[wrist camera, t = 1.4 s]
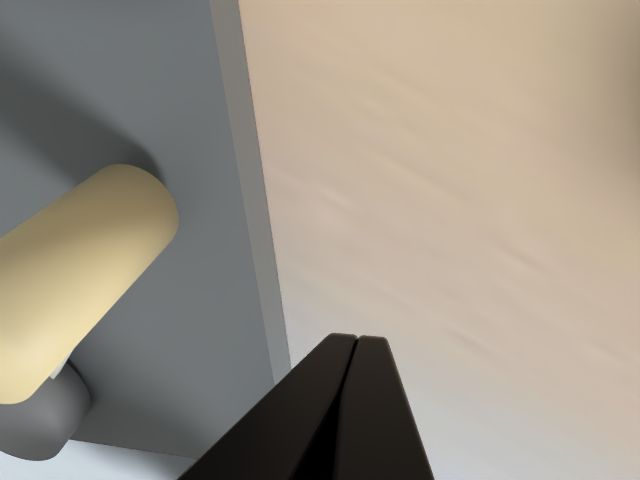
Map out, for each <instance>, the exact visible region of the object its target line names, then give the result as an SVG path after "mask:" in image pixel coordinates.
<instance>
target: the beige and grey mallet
mask: <svg viewBox="0 0 640 480" xmlns="http://www.w3.org/2000/svg"><path fill="white" fill-rule="evenodd" d="M178 225H179V216H178V211H177V207H176V204H175V202H174V200H173V198H172V196H171V194H170V193H169V191H168V190H167V189H166V187H165V186H164V185H163V184H162V183H161V182H160V181H159V180H158V179H157V178H155V177H154V176H153V175H151V174H150V173H148V172H147V171H145V170H143V169H141V168H138V167H135V166H132V165H127V164H114V165H109V166H106V167H104V168H103V169H101V170H99V171H98V172H97V173H95V174H94V175H92V176H91V177H89V178H88V179H86V180H85V181H83V182H82V183H80V184H79V185H78V186H76V187H75V188H73V189H72V190H70V191H69V192H67V193H66V194H64V195H63V196H61V197H60V198H58V199H57V200H56V201H54V202H53V203H51V204H50V205H48V206H47V207H45V208H44V209H42V210H41V211H39V212H38V213H37V214H35V215H34V216H32V217H31V218H29V219H28V220H26V221H25V222H23V223H22V224H20V225H19V226H18V227H16V228H15V229H13V230H12V231H10V232H9V233H7V234H6V235H4V236H3V237H1V238H0V451H2V452H4V453H6V454H9V455H11V456H14V457H17V458H21V459H25V460H32V461H43V460H48V459H51V458H53V457H54V456H56V455H57V454H58V453H59V452H60V450H61V449H62V448H63V446H64V445H65V444H66V442H67V441H68V440H69V438H70V437H71V436H72V434H73V433H74V432H75V430H76V429H77V428H78V426H79V425H80V424H81V422H82V421H83V420H84V418H85V417H86V416H87V414H88V413H89V410H90V407H91V400H90V395H89V392H88V390H87V387H86V385H85V384H84V382H83V380H82V379H81V378H80V376H79V375H78V374H77V373H76V372H75V371H74V370H73V369H72V368H71V367H70V366H69V365H68V364H67V363H66V361H67V359H68V357H69V356H70V354H71V352H72V351H73V349H74V348H75V347H76V346H77V345H78V343H79V342H80V341H81V340H82V339H83V338H84V337H85V336H86V335H87V334H88V332H89V331H90V330H91V329H92V328H93V327H94V326H95V325H96V324H97V323H98V321H99V320H100V319H101V318H102V317H103V316H104V315H105V314H106V313H107V311H108V310H109V309H110V308H111V307H112V306H113V305H114V304H115V303H116V302H117V300H118V299H119V298H120V297H121V296H122V295H123V294H124V293H125V292H126V291H127V289H128V288H129V287H130V286H131V285H132V284H133V283H134V282H135V281H136V280H137V278H138V277H139V276H140V275H141V274H142V273H143V272H144V271H145V270H146V268H147V267H148V266H149V265H150V264H151V263H152V262H153V261H154V260H155V259H156V257H157V256H158V255H159V254H160V253H161V252H162V251H163V250H164V249H165V248H166V246H167V245H168V244H169V243H170V242H171V241H172V240H173V238H174V237H175V235H176V233H177V230H178Z"/></svg>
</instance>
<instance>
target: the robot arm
mask: <svg viewBox="0 0 640 480" xmlns="http://www.w3.org/2000/svg"><path fill="white" fill-rule="evenodd" d="M177 480H435V479H434V476H433V473H432V470H431V467H430V464H429V461H428V458H427V455H426V452H425V449H424V446H423V444H422V441H421V438H420V435H419V432H418V429H417V426H416V423H415V420H414V417H413V414H412V411H411V408H410V405H409V402H408V399H407V396H406V393H405V390H404V387H403V384H402V381H401V378H400V375H399V372H398V370H397V367H396V364H395V361H394V358H393V355H392V352H391V349H390V346H389V343H388V341H387V339H386V338H384V337H378V336H366V335H362V336H360V337H359V338H358V337H357V336H356V335H353V334H342V333H331V334H329V335H328V336H327V337H326V338H325V339H324V340H323V341H321V342H320V343H319V344H318V345H317V346H316V347H315V348H314V349H313V350H312V351H311V352H310V353H309V354H308V355H307V356H306V357H305V358H304V359H303V360H302V361H300V362H299V363H298V364H297V365H296V366H295V367H294V368H293V369H292V370H291V371H290V372H289V373H288V374H287V375H286V376H285V377H284V378H283V379H282V380H281V381H280V382H278V383H277V384H276V385H275V386H274V387H273V388H272V389H271V390H270V391H269V392H268V393H267V394H266V395H265V396H264V397H263V398H262V399H261V400H260V401H259V402H257V403H256V404H255V405H254V406H253V407H252V408H251V409H250V410H249V411H248V412H247V413H246V414H245V415H244V416H243V417H242V418H241V419H240V420H239V421H238V422H236V423H235V424H234V425H233V426H232V427H231V428H230V429H229V430H228V431H227V432H226V433H225V434H224V435H223V436H222V437H221V438H220V439H219V440H218V441H217V442H215V443H214V444H213V445H212V446H211V447H210V448H209V449H208V450H207V451H206V452H205V453H204V454H203V455H202V456H201V457H200V458H199V459H198V460H197V461H196V462H194V463H193V464H192V465H191V466H190V467H189V468H188V469H187V470H186V471H185V472H184V473H183V474H182V475H181V476H180V477H179V478H178V479H177Z"/></svg>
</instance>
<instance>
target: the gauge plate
mask: <svg viewBox="0 0 640 480" xmlns="http://www.w3.org/2000/svg"><path fill="white" fill-rule="evenodd" d="M114 164H127V165H132V166H135V167H138V168H141V169H143V170H145V171H147V172H148V173H150V174H151V175H153V176H154V177H155V178H157V179H158V180H159V181H160V182H161V183H162V184H163V185H164V186H165V187H166V189H167V190H168V191H169V193H170V194H171V196H172V198H173V200H174V202H175V204H176V207H177V211H178V216H179V225H178V230H177V233H176V235H175V237H174V238H173V240H172V241H171V242H170V243H169V244H168V245H167V246H166V248H165V249H164V250H163V251H162V252H161V253H160V254H159V255H158V256H157V257H156V259H155V260H154V261H153V262H152V263H151V264H150V265H149V266H148V267H147V268H146V270H145V271H144V272H143V273H142V274H141V275H140V276H139V277H138V278H137V280H136V281H135V282H134V283H133V284H132V285H131V286H130V287H129V288H128V289H127V291H126V292H125V293H124V294H123V295H122V296H121V297H120V298H119V299H118V300H117V302H116V303H115V304H114V305H113V306H112V307H111V308H110V309H109V310H108V311H107V313H106V314H105V315H104V316H103V317H102V318H101V319H100V320H99V321H98V323H97V324H96V325H95V326H94V327H93V328H92V329H91V330H90V331H89V332H88V334H87V335H86V336H85V337H84V338H83V339H82V340H81V341H80V342H79V343H78V345H77V346H76V347H75V348H74V349H73V351H72V352H71V354H70V356H69V357H68V359H67V361H66V363H67V364H68V365H69V366H70V367H71V368H72V369H73V370H74V371H75V372H76V373H77V374H78V375H79V376H80V378H81V379H82V380H83V382H84V384H85V385H86V387H87V390H88V392H89V395H90V400H91V407H90V410H89V413H88V414H87V416H86V417H85V418H84V420H83V421H82V422H81V424H80V425H79V426H78V428H77V429H76V430H75V432H74V433H73V434H72V436H71V437H70V438H69V439H70V440H77V441H84V442H90V443H97V444H104V445H110V446H117V447H123V448H130V449H137V450H143V451H150V452H157V453H163V454H170V455H177V456H183V457H190V458H197V459H199V458H200V457H201V456H202V455H203V454H204V453H205V452H206V451H207V450H208V449H209V448H210V447H211V446H212V445H213V444H214V443H215V442H217V441H218V440H219V439H220V438H221V437H222V436H223V435H224V434H225V433H226V432H227V431H228V430H229V429H230V428H231V427H232V426H233V425H234V424H235V423H236V422H238V421H239V420H240V419H241V418H242V417H243V416H244V415H245V414H246V413H247V412H248V411H249V410H250V409H251V408H252V407H253V406H254V405H255V404H256V403H257V402H259V401H260V400H261V399H262V398H263V397H264V396H265V395H266V394H267V393H268V392H269V391H270V390H271V389H272V388H273V387H274V386H275V385H276V384H277V383H278V382H280V381H281V380H282V379H283V378H284V377H285V376H286V375H287V374H288V373H289V372H290V371H291V363H290V356H289V349H288V343H287V336H286V329H285V322H284V315H283V308H282V301H281V294H280V287H279V280H278V274H277V267H276V260H275V253H274V246H273V239H272V232H271V225H270V218H269V212H268V205H267V198H266V191H265V184H264V177H263V170H262V163H261V156H260V149H259V143H258V136H257V129H256V122H255V115H254V108H253V101H252V94H251V87H250V80H249V74H248V67H247V60H246V53H245V46H244V39H243V32H242V25H241V18H240V11H239V5H238V0H0V238H1V237H3V236H4V235H6V234H7V233H9V232H10V231H12V230H13V229H15V228H16V227H18V226H19V225H20V224H22V223H23V222H25V221H26V220H28V219H29V218H31V217H32V216H34V215H35V214H37V213H38V212H39V211H41V210H42V209H44V208H45V207H47V206H48V205H50V204H51V203H53V202H54V201H56V200H57V199H58V198H60V197H61V196H63V195H64V194H66V193H67V192H69V191H70V190H72V189H73V188H75V187H76V186H78V185H79V184H80V183H82V182H83V181H85V180H86V179H88V178H89V177H91V176H92V175H94V174H95V173H97V172H98V171H99V170H101V169H103V168H104V167H106V166H109V165H114Z"/></svg>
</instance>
